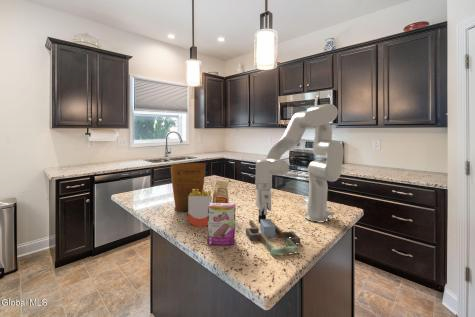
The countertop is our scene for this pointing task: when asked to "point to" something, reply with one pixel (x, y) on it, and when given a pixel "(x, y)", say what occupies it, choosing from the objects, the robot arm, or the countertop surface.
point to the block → (267, 227)
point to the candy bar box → (221, 224)
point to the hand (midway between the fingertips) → (262, 223)
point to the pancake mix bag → (186, 182)
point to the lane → (255, 235)
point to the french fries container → (198, 207)
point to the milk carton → (221, 192)
